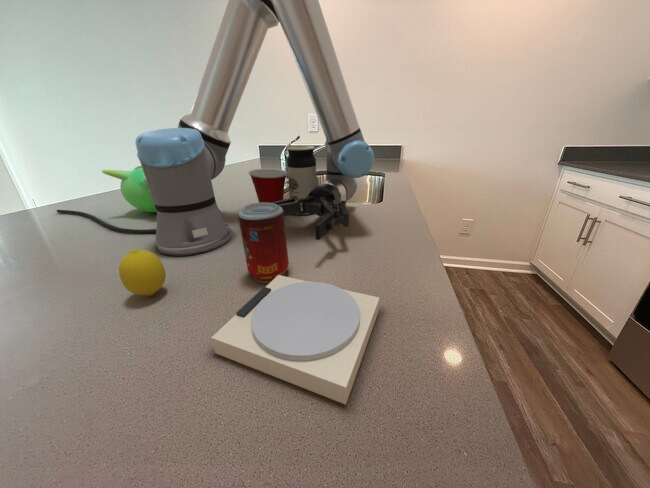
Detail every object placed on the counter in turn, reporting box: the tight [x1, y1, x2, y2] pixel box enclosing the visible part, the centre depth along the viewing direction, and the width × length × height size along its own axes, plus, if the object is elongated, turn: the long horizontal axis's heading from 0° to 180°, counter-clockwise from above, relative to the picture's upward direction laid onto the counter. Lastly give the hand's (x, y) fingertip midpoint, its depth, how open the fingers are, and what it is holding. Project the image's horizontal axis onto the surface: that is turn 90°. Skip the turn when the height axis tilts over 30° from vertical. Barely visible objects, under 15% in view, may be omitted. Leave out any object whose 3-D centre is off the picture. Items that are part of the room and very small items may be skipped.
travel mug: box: [286, 145, 318, 216], centre depth 73 cm, size 8×8×18 cm
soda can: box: [237, 202, 290, 284], centre depth 43 cm, size 7×7×12 cm
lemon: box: [118, 248, 167, 297], centre depth 39 cm, size 6×6×8 cm
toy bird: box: [101, 165, 157, 213], centre depth 77 cm, size 18×17×15 cm
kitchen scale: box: [210, 275, 380, 406], centre depth 32 cm, size 16×14×3 cm
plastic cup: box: [248, 168, 288, 203], centre depth 75 cm, size 11×11×12 cm
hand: (283, 228), depth 47 cm, fingers open, 13 cm apart
